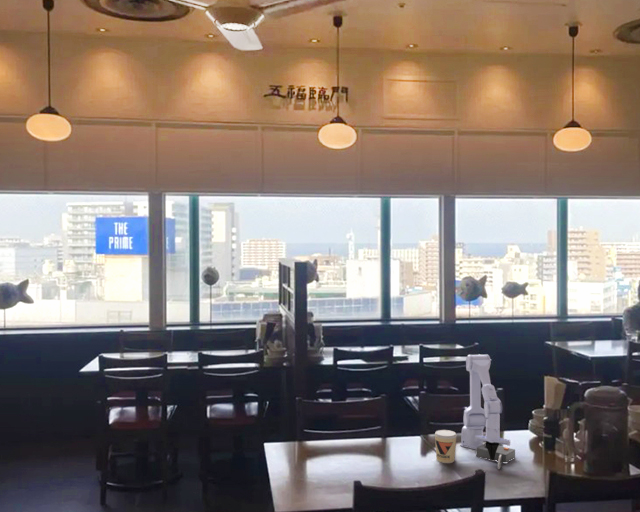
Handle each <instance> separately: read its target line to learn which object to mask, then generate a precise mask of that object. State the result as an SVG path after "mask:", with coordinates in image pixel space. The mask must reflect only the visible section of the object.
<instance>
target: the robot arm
mask: <svg viewBox="0 0 640 512" xmlns="http://www.w3.org/2000/svg"><path fill="white" fill-rule="evenodd" d="M491 362H492V361H491V357H490V355H489V354H487V353H486V354H467V356H466V358H465V368H466V369H465V370H466V371H467V372H469V406H468V407H467V408H465V409H464V410H463V418H462V419H463V426H462V428H461V435H460V436H461V439H460V441H461V443H460V446H461V447H464V448H469V449H473V450H476V448H477V447H479V446H481V445H482V444H484V443H486V444H485V445H486V447H487V449H488V452H489V455H490V460H489V461H492V460H494V459H495V454H496V451H497V448H498V446H500V445H504V446H509V447H510V446H511V439H507V438H503V437H501V436H500V435H501V433H500V431H501V430H500V426H501V425H500V423H501V422H500V421H501V419H500V418H501V416H500V414H502V413H503V404H502V401H501V399H500V398H499V397H498V395H497V391H496V388H495V386H494V385H493V384H491V382H492V381H491V376H490V372H489V370H490V367H491ZM481 384H482V387H481ZM481 394H482V395H481ZM481 398H483V401H484V402H483V408H482V404H481V403H482V401H481V400H482V399H481ZM484 429H485V435H484Z"/></svg>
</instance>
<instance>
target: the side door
mask: <svg viewBox="0 0 640 512" xmlns="http://www.w3.org/2000/svg"><path fill="white" fill-rule="evenodd" d="M501 462H502V454H500V456H499V459H498V462H497V470H498V469H501V467H502V463H501Z"/></svg>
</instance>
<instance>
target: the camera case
mask: <svg viewBox="0 0 640 512" xmlns="http://www.w3.org/2000/svg"><path fill="white" fill-rule="evenodd" d="M485 444H486V442H483V444H482V445H481V446H479V447H477V448H476V449H475V450H476V451H475V453H476V456H477V458H480V457H481V459H484V458H487V459H486V460H488V459H490V455H489V452H488V449H487V447H486V445H485ZM500 454H502V462H508V461H509V460H511V459H513V458H515V459H516V449H514V448H511V447H506V446H501V445H499V446H498V448H497V451H496V454H495V459H494V460H497V461H498V459H499V456H500ZM476 456H475V457H476ZM513 460H514V459H513ZM508 463H509V462H508Z"/></svg>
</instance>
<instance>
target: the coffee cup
mask: <svg viewBox="0 0 640 512" xmlns="http://www.w3.org/2000/svg"><path fill="white" fill-rule="evenodd" d="M434 437H435V439H434V440H435V441H434V443H435V454H436V462H439V463H443V464H452V463H453V462H455V459H456V446H457V444H456V443H457V434H456V432H455V431H453V430H448V429H438V430H436V431H435V433H434Z"/></svg>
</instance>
